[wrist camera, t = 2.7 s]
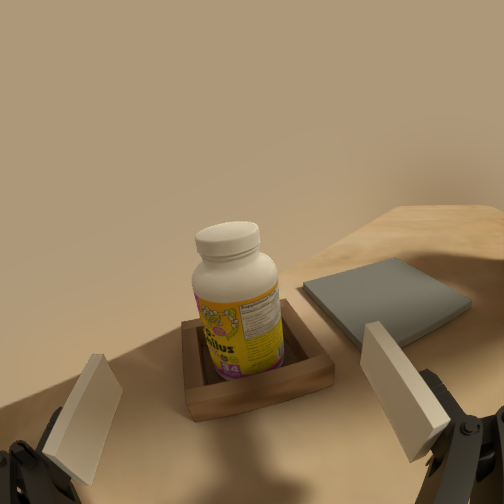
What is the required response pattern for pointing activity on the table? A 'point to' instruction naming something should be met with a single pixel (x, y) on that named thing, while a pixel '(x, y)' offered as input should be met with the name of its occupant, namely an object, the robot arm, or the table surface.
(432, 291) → the slate mat
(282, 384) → the locating collar
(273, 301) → the supplement bottle
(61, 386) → the table surface
